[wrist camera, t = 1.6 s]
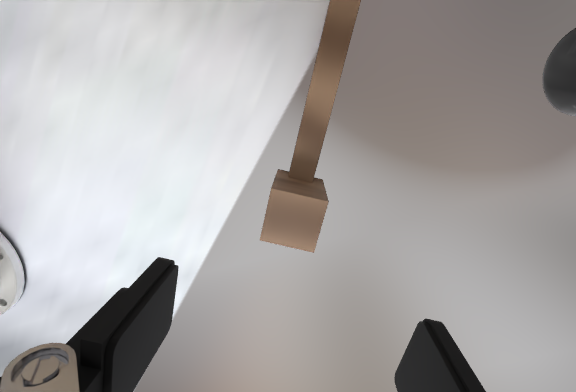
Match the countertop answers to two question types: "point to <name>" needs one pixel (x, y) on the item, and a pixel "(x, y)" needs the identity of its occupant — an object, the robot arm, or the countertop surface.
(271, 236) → the crook
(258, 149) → the countertop surface
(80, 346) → the robot arm
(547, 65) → the supplement bottle
